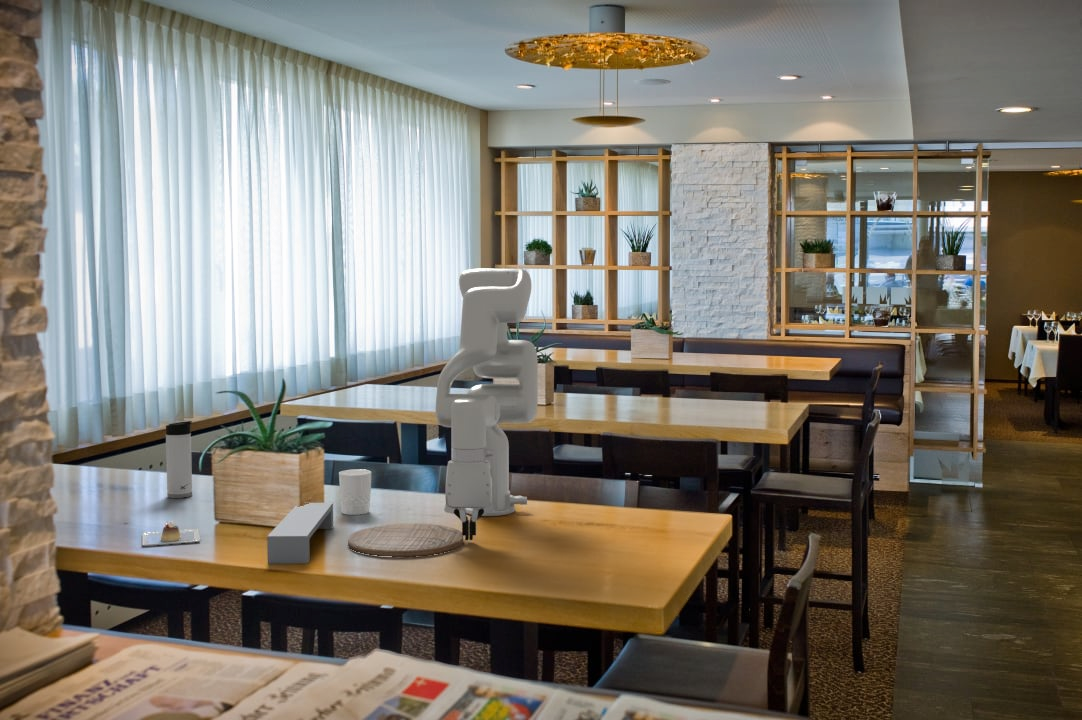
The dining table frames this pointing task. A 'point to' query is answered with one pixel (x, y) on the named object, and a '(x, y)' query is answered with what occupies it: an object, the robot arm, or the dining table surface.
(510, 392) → the robot arm
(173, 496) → the travel mug
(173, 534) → the dessert
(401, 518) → the dining table surface
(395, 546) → the trivet
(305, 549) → the bridge
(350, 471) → the white cup
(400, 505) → the dining table surface
